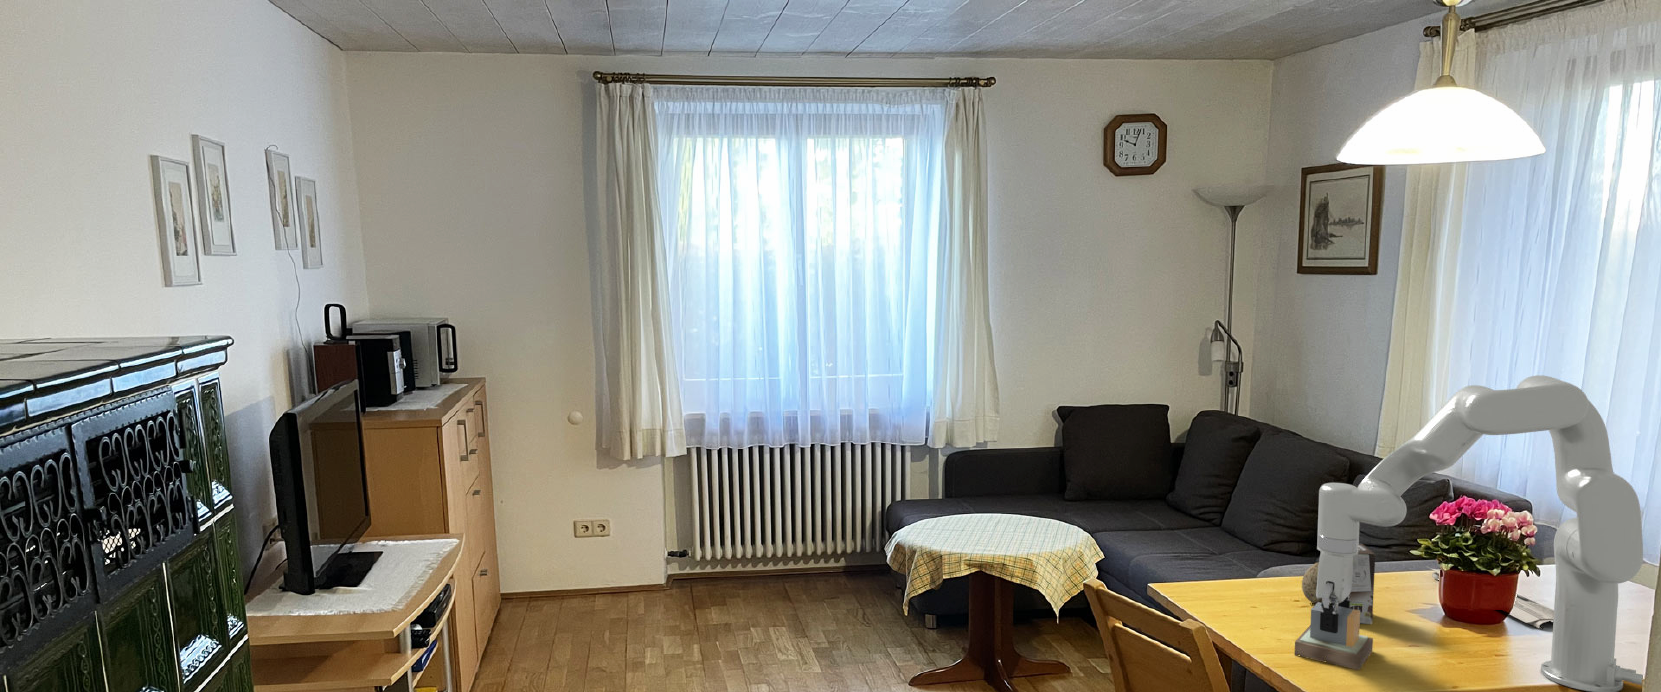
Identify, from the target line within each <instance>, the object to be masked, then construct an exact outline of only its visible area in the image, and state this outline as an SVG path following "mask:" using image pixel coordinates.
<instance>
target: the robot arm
mask: <svg viewBox="0 0 1661 692" xmlns="http://www.w3.org/2000/svg"><path fill="white" fill-rule="evenodd" d="M1544 431H1545V432H1546V431H1549V434H1550V437H1551V441H1552V446H1553V452H1554V465H1555V466H1554V467H1555V480H1556V482H1555V483H1556V484H1555V485H1556V494H1557V496H1558V498H1559V500H1560V501H1561V502H1562V504H1564V506H1566V507H1567V508H1569V509H1570V510H1571V511H1573V512H1575V513H1576V517H1572V518H1569V519H1568V520H1565V521H1564V522H1562V524H1560V525H1559V526H1558V527H1557V528H1558V529H1556V532H1555V535H1554V538H1553V552H1554V554H1553V555H1554V563H1555V590H1554V591H1555V593H1554V603H1553V604H1554V606H1553V608H1554V609H1553V610H1554V620H1553V623H1552V624H1553V625H1552V626H1553V627H1552V639H1551V654H1550V655H1551V659H1550V660H1547V661H1544V662H1543V663H1541V664H1540V672H1541V674H1542V675H1543V676H1544V677H1545V678H1547V679H1549V680H1550V681H1553V682H1554V683H1557V684H1559V685H1562V686H1565V687H1568V688H1572V689H1576V690H1581V691H1586V692H1619V691H1621V690H1623V688H1624V681H1625V682H1629V683H1631V684H1636V685H1640V686H1643V685H1642V679H1643V675H1644V674H1641V673H1637V670H1636V669H1635V670H1634V669H1632V668H1625V667H1621V666H1620V665H1618V664H1617V658H1615V651H1616V649H1615V647H1616V634H1617V632H1616V631H1617V619H1618V606H1619V604H1618V603H1619V584H1623V583H1627V582H1628V581H1630V580H1633V578H1635V577H1636V576H1637V574H1638V573H1639V572H1640V570H1641V569H1642V565H1643V561H1644V543H1643V526H1642V514H1641V513H1642V511H1641V505H1640V500H1639V497H1638V495H1637V493H1636V490H1635V489H1634V487H1633V486H1632V484H1630V482H1628V481H1627V480H1626V479H1624V478H1623V477H1622V476H1620V475H1619V474H1616V473H1615V471H1614V469H1613V462H1612V456H1611V447H1610V440H1609V434H1608V430H1607V427H1606V424H1605V422H1604V419H1603V418H1602V416H1601V413H1599V411H1598V409H1597V408H1596V407H1595V405H1594V404H1593V403H1592V402H1591V401H1590V399H1588V397H1587V395H1586V394H1585V392H1584V391H1583V390H1582V389H1581V388H1580V387H1578V386H1576V385H1575V384H1572V383H1570V382H1566V381H1563V380H1561V379H1558V378H1555V377H1552V376H1548V375H1542V374H1541V375H1539V374H1538V375H1537V374H1536V375H1532V376H1528V377H1525V378H1524V379H1523V380H1521V381H1520V382H1519V383H1518V385H1517V386H1516V388H1511V389H1510V388H1509V389H1492V388H1489V387H1486V386H1484V385H1483V386H1482V385H1477V384H1473V385H1467V386H1464V387H1461V389H1459V390H1458V391H1457V392H1455V393H1454V394H1453V395H1452V396H1451V397H1450V398H1449V399H1448V401H1447V402H1445V404H1444V405H1442V406H1441V408H1440V409H1439V410H1438V411H1437V412H1436V413H1435V414H1434V415H1433V416H1432V417H1431V418H1430V420H1428V421H1427V422H1426V423H1425V425H1424V426H1422V427H1421V429H1420V430H1419V431H1418V432H1417V433H1416V434H1414V435H1413V437H1411V438H1410V439H1409V440H1407V441H1406V442H1404V443H1403V444H1402V445H1400V446H1399V447H1397V449H1395V450H1393V451H1392V452H1391V453H1389V454H1388V455H1386V456H1385V457H1384V458H1383V459H1382V460H1380V462H1379V463H1378V464H1377V465H1376V466H1375V467H1373V468H1372V470H1371V471H1370V472H1369V473H1368V474H1367V475H1365V477H1364V479H1362V480H1361V482H1360V483H1359V484H1358V486H1355V485H1353V484H1349V483H1344V482H1327V483H1323V484H1321V486H1320V488H1319V490H1318V515H1317V517H1318V519H1317V540H1316V541H1317V543H1316V544H1317V545H1316V550H1318V551H1320V555H1319V560H1318V563H1319V566H1318V577H1317V589H1316V597H1317V598H1318V599H1321V598H1322V604H1321V611H1320V630H1322V631H1326V632H1331V633H1337V632H1338V614H1336V613H1337V608H1338V606H1340V607H1345V608H1350V601H1349V599H1350V592H1351V590H1352V580H1353V556H1354V555H1357V554H1358V546H1359V543H1360V539H1359V538H1360V523H1363V524H1367V525H1372V526H1377V527H1386V528H1387V527H1389V528H1390V527H1394V526H1396V525H1398V524H1400V523H1402V522H1403V521H1404V520H1405V518H1406V515H1407V511H1408V510H1407V504H1406V503H1405V500H1404V499H1403V498H1402V497H1401V496H1402V495H1403V494H1404V493H1405V492H1406V491H1407V490H1408V489H1409V488H1410V487H1411V486H1412V485H1414V484H1415V483H1416V482H1418V481H1419V480H1420V479H1422V478H1423V477H1425V476H1427V475H1429V474H1433V473H1436V472H1440V471H1444V470H1446V469H1448V468H1451V467H1453V466H1454V465H1455V464H1457V462H1458V461H1459V460H1460V459H1461V458H1462V457H1463V456H1464V455H1465V454H1466V453H1467V451H1468V450H1470V449H1471V447H1472V446H1473V445H1475V443H1476V442H1477V441H1478V440H1479V439H1480V438H1482V436H1484V435H1485V436H1505V435H1516V434H1526V433H1535V432H1537V433H1538V432H1544ZM1331 597H1333V598H1331ZM1333 605H1334V607H1333Z"/></svg>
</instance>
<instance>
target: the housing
mask: <svg viewBox="0 0 1661 692" xmlns="http://www.w3.org/2000/svg"><path fill="white" fill-rule="evenodd" d="M1321 604H1322V603H1320V602H1318V603H1317V604H1314V606H1312V608H1310V625H1311V626H1310V625H1309V626H1310V638H1315V639H1319V640H1324V641H1328V642H1333V643H1337V644H1341V645H1346V646H1350V647H1353V646H1354V645H1355V643H1356V642H1357V641H1358V640H1359V635H1360V624H1361V623H1360V611H1359V610H1354V609H1350V608H1345V607H1340V606H1338V608H1337V613H1336V614H1338V632H1337V633H1331V632H1326V631H1322V630H1320V611H1321ZM1333 607H1334V605H1333Z"/></svg>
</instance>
